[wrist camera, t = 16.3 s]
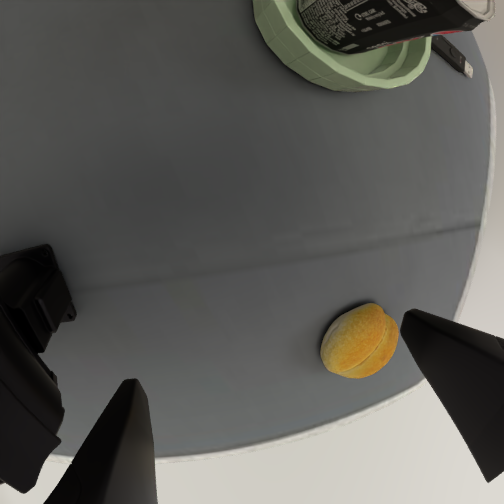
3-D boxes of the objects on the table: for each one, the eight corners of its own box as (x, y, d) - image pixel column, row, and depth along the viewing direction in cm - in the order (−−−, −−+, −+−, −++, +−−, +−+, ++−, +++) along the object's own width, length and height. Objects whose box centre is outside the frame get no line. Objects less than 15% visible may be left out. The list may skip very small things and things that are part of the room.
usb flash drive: (468, 65, 18) (474, 65, 17) (466, 80, 19) (473, 80, 18) (421, 24, 16) (429, 22, 15) (420, 39, 17) (427, 37, 16)
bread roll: (359, 287, 25) (383, 310, 22) (396, 323, 29) (417, 343, 25) (299, 350, 26) (315, 378, 23) (346, 373, 30) (362, 397, 27)
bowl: (259, 91, 17) (282, 80, 13) (244, -47, 12) (260, -78, 8) (401, 99, 19) (440, 99, 15) (381, -20, 14) (413, -35, 10)
